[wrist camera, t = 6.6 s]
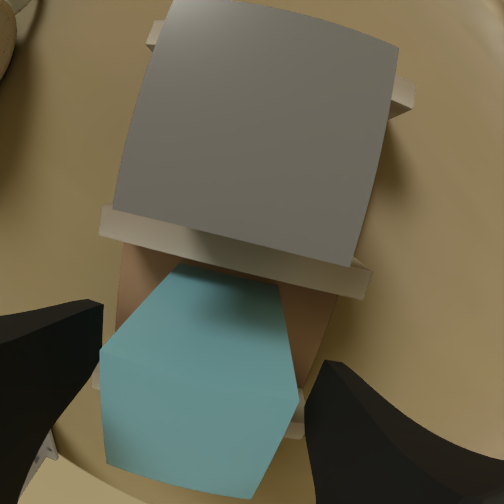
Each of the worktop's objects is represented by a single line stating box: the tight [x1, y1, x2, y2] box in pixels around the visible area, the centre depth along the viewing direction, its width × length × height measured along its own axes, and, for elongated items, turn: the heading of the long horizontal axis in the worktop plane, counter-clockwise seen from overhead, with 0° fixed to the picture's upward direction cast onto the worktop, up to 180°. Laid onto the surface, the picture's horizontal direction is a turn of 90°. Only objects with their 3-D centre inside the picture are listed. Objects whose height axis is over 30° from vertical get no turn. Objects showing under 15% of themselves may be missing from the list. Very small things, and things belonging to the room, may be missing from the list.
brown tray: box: [92, 20, 416, 440], centre depth 11 cm, size 14×9×3 cm, turn 166°
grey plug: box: [112, 0, 399, 268], centre depth 8 cm, size 4×4×7 cm
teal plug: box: [100, 262, 300, 500], centre depth 9 cm, size 4×4×7 cm
